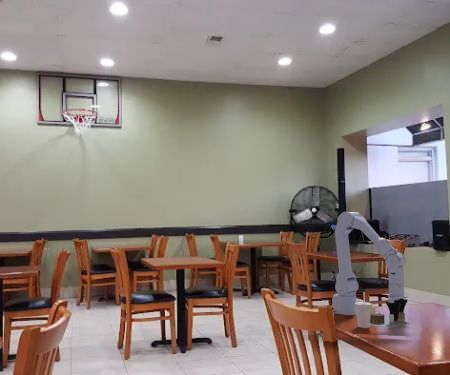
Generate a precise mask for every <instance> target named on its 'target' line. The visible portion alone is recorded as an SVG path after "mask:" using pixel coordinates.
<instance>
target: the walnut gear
mask: <svg viewBox="0 0 450 375" xmlns="http://www.w3.org/2000/svg"><path fill="white" fill-rule="evenodd" d="M375 313H376V312H371V317H370V322H372V323H379V324H381V323H385V320H384V317H385V313H381V312H378V313H379V315H375Z"/></svg>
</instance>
